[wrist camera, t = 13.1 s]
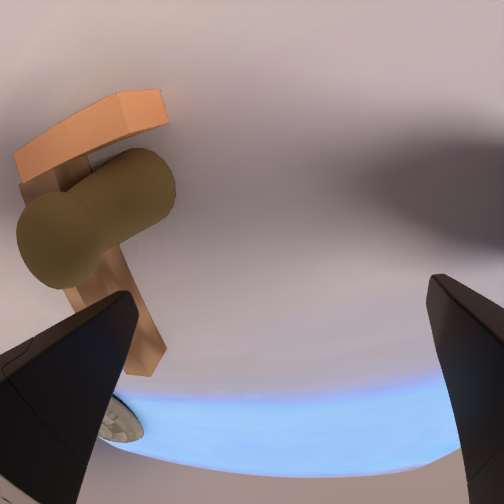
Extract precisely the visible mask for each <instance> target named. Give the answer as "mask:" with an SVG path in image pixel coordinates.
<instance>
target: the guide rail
mask: <svg viewBox="0 0 504 504" xmlns="http://www.w3.org/2000/svg"><path fill="white" fill-rule="evenodd" d="M167 123H169V121H168V118H167V114H166V111H165V107H164V104H163V100H162V96H161V93H160V89H158V90H138V91H124V92H117V93H115V94H113V95H111V96H109V97H107V98H105V99H103V100H101V101H99V102H97V103H95V104H93V105H91V106H89V107H87V108H85V109H84V110H82V111H80V112H78V113H76V114H75V115H73V116H71V117H69V118H68V119H66V120H64V121H62V122H61V123H59V124H57V125H56V126H54V127H53V128H51V129H49V130H48V131H46V132H45V133H43V134H41V135H40V136H38V137H37V138H35V139H34V140H32V141H31V142H29V143H28V144H26V145H25V146H23V147H22V148H20V149H19V150H18V151H16V152H15V153H13V156H14V160H15V163H16V166H17V169H18V173H19V176H20V179H21V182H22V183H21V184H20V185H19V188H20V191H21V194H22V196H23V199H24V202H25V205H26V206H27V205H28V204H29V203H30V202H31V201H33V200H35V199H36V198H38V197H40V196H42V195H44V194H46V193H51V192H67V191H68V190H70V189H71V188H72V187H73V186H75V185H76V184H78V183H79V182H80V181H82V180H83V179H84V178H86V177H87V176H88V175H90V174H91V173H92V171H91V168H90V165H89V162H88V159H87V156H86V155H88V154H90V153H92V152H94V151H97V150H99V149H101V148H104V147H106V146H109V145H111V144H113V143H116V142H118V141H121V140H123V139H126V138H128V137H131V136H134V135H136V134H139V133H142V132H144V131H147V130H150V129H153V128H155V127H158V126H161V125H164V124H167ZM119 290H128V291H130V292H131V293H132V295H133V298H134V301H135V303H136V306H137V308H138V311H139V320H138V323H137V326H136V329H135V333H134V336H133V339H132V343H131V346H130V350H129V353H128V356H127V359H126V361H125V364H124V366H123V370H124V371H125V373H126V374H128V375H137V376H146V377H151V376H152V374H153V372H154V370H155V369H156V367H157V365H158V363H159V362H160V360H161V358H162V356H163V355H164V353H165V351H166V349H167V347H166V346H165V344H164V342H163V340H162V338H161V336H160V334H159V332H158V330H157V328H156V326H155V324H154V322H153V320H152V318H151V316H150V314H149V312H148V310H147V308H146V305H145V303H144V301H143V299H142V297H141V295H140V293H139V290H138V288H137V286H136V284H135V282H134V279H133V277H132V275H131V273H130V270H129V268H128V266H127V263H126V261H125V259H124V256H123V254H122V252H121V249H120V247H119V244H118V245H116V246H114V247H113V248H111V249H109V250H107V251H106V252H104V253H102V254H101V257H100V259H99V262H98V264H97V266H96V268H95V269H94V271H93V273H92V274H91V275H90V276H89V277H88V278H87V279H86V280H84V281H83V282H82V283H81V284H79V285H77V286H75V287H73V288H68V289H63V291H64V293H65V295H66V297H67V298H68V300H69V302H70V304H71V306H72V308H73V310H74V311H75V313H77V312H79V311H81V310H83V309H84V308H86V307H88V306H90V305H92V304H94V303H96V302H97V301H99V300H101V299H103V298H105V297H107V296H109V295H110V294H112V293H114V292H116V291H119Z"/></svg>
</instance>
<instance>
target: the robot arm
mask: <svg viewBox="0 0 504 504" xmlns="http://www.w3.org/2000/svg"><path fill="white" fill-rule="evenodd" d="M426 307H427V311H428V316H429V320H430V325H431V329H432V334H433V339H434V343H435V348H436V352H437V356H438V359H439V362H440V365H441V369H442V372H443V376H444V379H445V382H446V386H447V390H448V393H449V397H450V401H451V405H452V409H453V413H454V417H455V421H456V426H457V430H458V435H459V439H460V444H461V449H462V454H463V460H464V465H465V472H466V478H467V482H468V484H467V487H468V494H469V503H470V504H504V308H502V307H501V306H499V305H497V304H496V303H494V302H492V301H491V300H489V299H487V298H486V297H484V296H482V295H481V294H479V293H477V292H475V291H474V290H472V289H470V288H469V287H467V286H465V285H463V284H462V283H460V282H458V281H456V280H455V279H453V278H451V277H449V276H447V275H446V274H434V275H432V276H431V277H430V280H429V286H428V292H427V298H426ZM138 320H139V311H138V308H137V306H136V303H135V301H134V298H133V295H132V293H131V292H130V291H128V290H119V291H116V292H114V293H112V294H110V295H109V296H107V297H105V298H103V299H101V300H99V301H97V302H96V303H94V304H92V305H90V306H88V307H86V308H84V309H83V310H81V311H79V312H77V313H75V314H74V315H72V316H70V317H68V318H66V319H64V320H63V321H61V322H59V323H57V324H55V325H54V326H52V327H50V328H48V329H46V330H45V331H43V332H41V333H39V334H38V335H36V336H35V337H32V338H30V339H29V340H27V341H25V342H23V343H21V344H20V345H18V346H16V347H14V348H12V349H10V350H8V351H6V352H5V353H3V354H1V355H0V504H76V502H77V498H78V495H79V492H80V488H81V485H82V482H83V479H84V475H85V472H86V469H87V465H88V462H89V459H90V456H91V453H92V450H93V447H94V444H95V441H96V438H97V436H98V433H99V430H100V427H101V424H102V421H103V419H104V416H105V413H106V410H107V408H108V405H109V402H110V400H111V397H112V394H113V392H114V389H115V387H116V384H117V382H118V379H119V376H120V374H121V371H122V369H123V366H124V364H125V361H126V359H127V356H128V353H129V350H130V346H131V343H132V339H133V336H134V333H135V329H136V326H137V323H138Z"/></svg>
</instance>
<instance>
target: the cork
mask: <svg viewBox="0 0 504 504" xmlns="http://www.w3.org/2000/svg"><path fill="white" fill-rule="evenodd" d="M175 196H176V190H175V181H174V178H173V175H172V172H171V170H170V169H169V167H168V166H167V164H166V163H165V162H164V160H163V159H162V158H160V157H159V156H158V155H157V154H155V153H154V152H152V151H149V150H146V149H143V148H131V149H129V150H127V151H124V152H122V153H121V154H119V155H118V156H116V157H114V158H113V159H112V160H110V161H109V162H107V163H106V164H104V165H103V166H101V167H100V168H98V169H97V170H96V171H94V172H93V173H91V174H90V175H88V176H87V177H86V178H84V179H83V180H82V181H80V182H79V183H78V184H76V185H75V186H73V187H72V188H71V189H70V190H68V191H67V192H51V193H46V194H44V195H42V196H40V197H38V198H36V199H35V200H33V201H31V202H30V203H29V204H28V205H27V206H26V208H25V209H24V211H23V212H22V214H21V216H20V218H19V221H18V224H17V230H16V234H17V243H18V247H19V250H20V254H21V256H22V258H23V260H24V262H25V264H26V266H27V267H28V269H29V270H30V272H31V273H32V274H33V275H34V276H35V277H36V278H37V279H38V280H39V281H40V282H42V283H44V284H45V285H47V286H48V287H51V288H54V289H68V288H73V287H75V286H77V285H79V284H81V283H82V282H83V281H84V280H86V279H87V278H88V277H89V276H90V275H91V274H92V273H93V271H94V269H95V268H96V266H97V264H98V262H99V259H100V257H101V254H102V253H104V252H106V251H107V250H109V249H111V248H113V247H114V246H116V245H118V244H120V243H121V242H123V241H125V240H127V239H128V238H130V237H132V236H134V235H136V234H137V233H139V232H141V231H143V230H145V229H146V228H148V227H150V226H152V225H154V224H155V223H157V222H159V221H160V220H162V219H163V218H165V217H166V216H167V215H168V213H169V212H170V210H171V209H172V207H173V204H174V200H175Z"/></svg>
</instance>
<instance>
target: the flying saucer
mask: <svg viewBox="0 0 504 504" xmlns="http://www.w3.org/2000/svg"><path fill="white" fill-rule="evenodd" d="M143 435H144V431H143V428H142V426H141V424H140V422H139V421H138V419H137V418H136V417H135V416H134V415H133V413H132V412H131V411H130V410H129V409H128V408H126V407H125V406H124V405H123V404H122V403H121V402H119V401H118V400H117V399H116V398H114V397H113V396H112V397H111V400H110V402H109V405H108V408H107V410H106V413H105V416H104V419H103V421H102V424H101V427H100V430H99V433H98V437H101V438H104V439H106V440H109V441H113V442H120V443H127V442H133V441H136V440H138V439H140V438H142V437H143Z"/></svg>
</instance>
